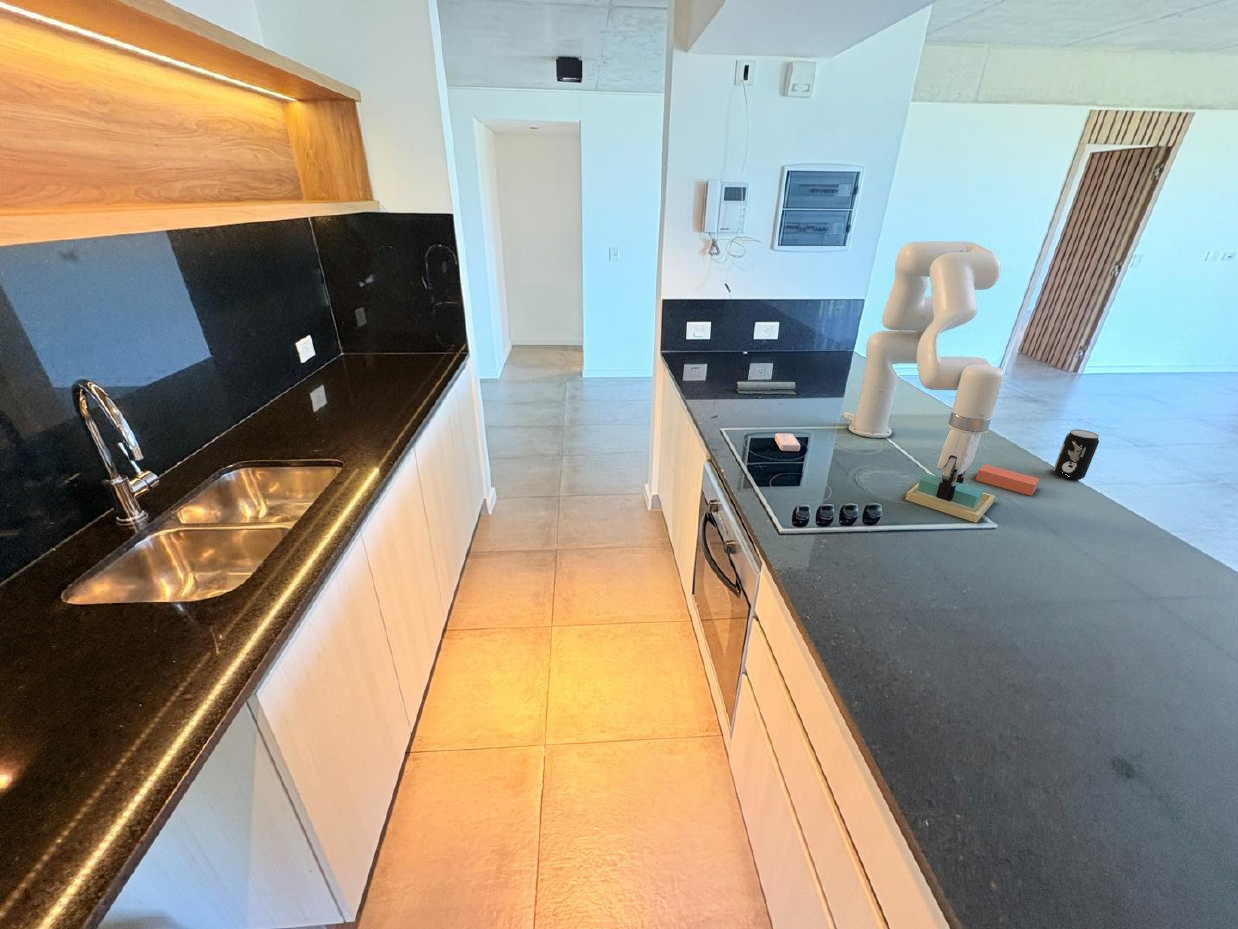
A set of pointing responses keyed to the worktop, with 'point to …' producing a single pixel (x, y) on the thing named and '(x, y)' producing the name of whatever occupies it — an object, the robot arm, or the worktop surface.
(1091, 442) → the beverage can
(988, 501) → the tray
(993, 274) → the robot arm
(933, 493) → the pad
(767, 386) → the aluminum foil
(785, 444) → the soap bar
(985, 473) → the red rectangular block
